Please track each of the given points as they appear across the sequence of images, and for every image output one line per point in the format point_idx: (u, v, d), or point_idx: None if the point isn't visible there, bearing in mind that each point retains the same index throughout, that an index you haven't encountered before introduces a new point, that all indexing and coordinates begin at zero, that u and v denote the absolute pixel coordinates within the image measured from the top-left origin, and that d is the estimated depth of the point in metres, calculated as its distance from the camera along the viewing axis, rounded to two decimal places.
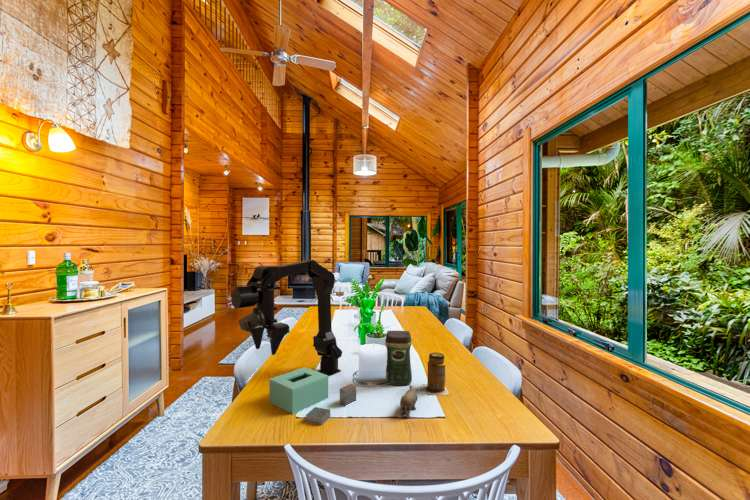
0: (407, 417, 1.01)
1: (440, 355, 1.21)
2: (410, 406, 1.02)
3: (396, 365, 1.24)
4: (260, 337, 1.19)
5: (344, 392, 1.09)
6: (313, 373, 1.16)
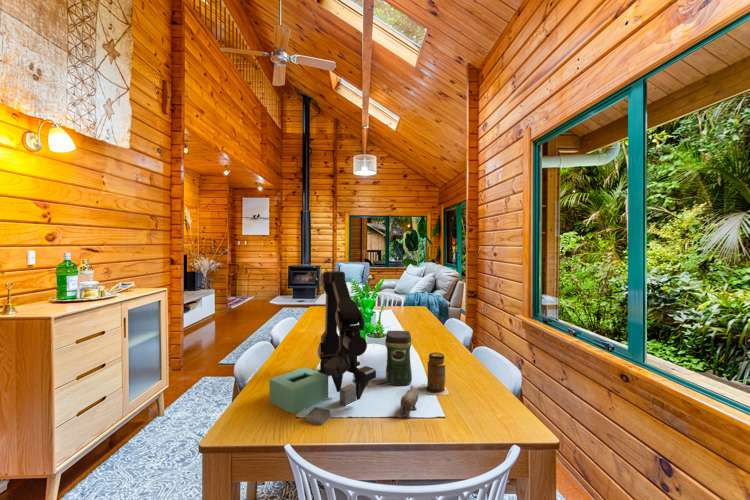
0: (407, 417, 1.01)
1: (440, 355, 1.21)
2: (410, 406, 1.02)
3: (396, 365, 1.24)
4: (340, 379, 1.15)
5: (344, 392, 1.09)
6: (313, 373, 1.16)
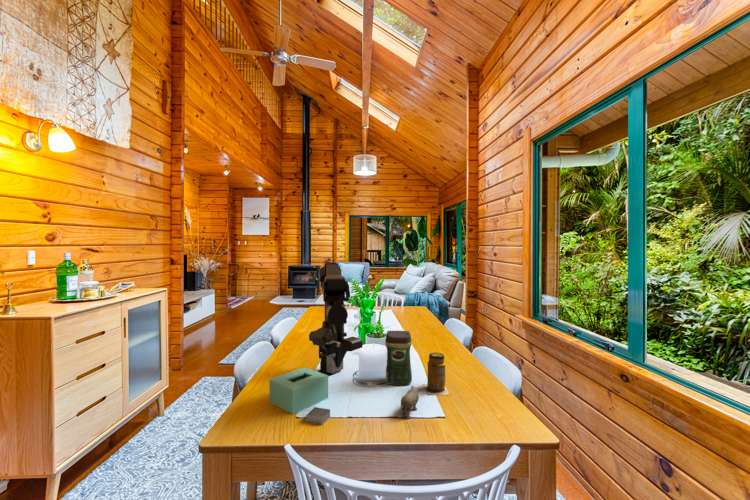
0: (407, 417, 1.01)
1: (440, 355, 1.21)
2: (410, 406, 1.02)
3: (396, 365, 1.24)
4: None
5: (331, 359, 1.09)
6: (313, 373, 1.16)
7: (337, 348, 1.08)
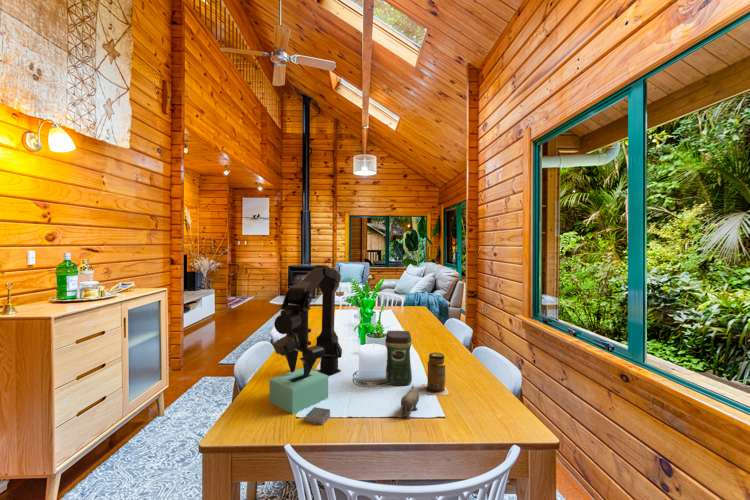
0: (407, 417, 1.01)
1: (440, 355, 1.21)
2: (410, 406, 1.02)
3: (396, 365, 1.24)
4: (295, 360, 1.16)
5: None
6: (313, 373, 1.16)
7: None
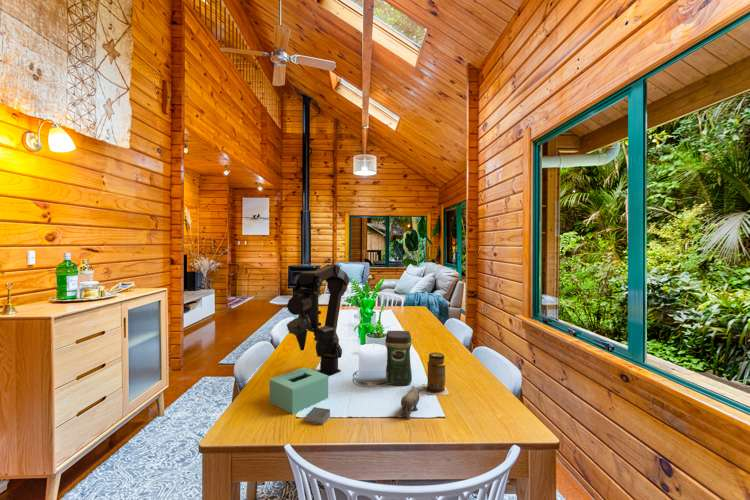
0: (407, 417, 1.01)
1: (440, 355, 1.21)
2: (410, 406, 1.02)
3: (396, 365, 1.24)
4: (304, 339, 1.26)
5: None
6: (313, 373, 1.16)
7: None
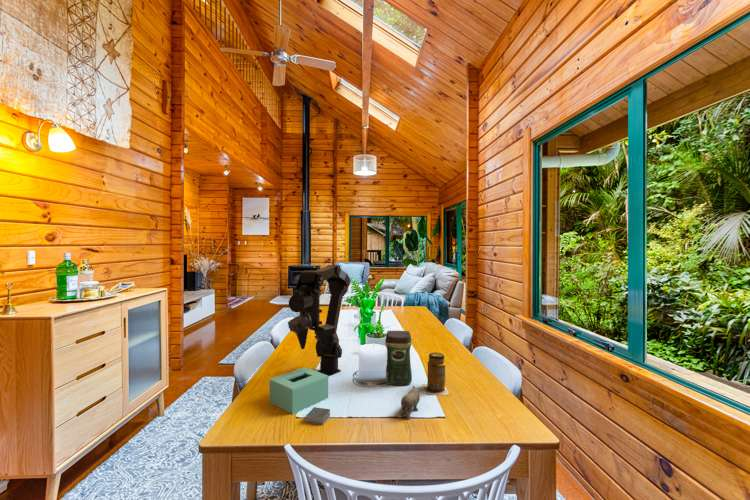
0: (407, 418, 1.01)
1: (440, 355, 1.21)
2: (410, 407, 1.01)
3: (396, 365, 1.24)
4: (305, 338, 1.27)
5: None
6: (313, 373, 1.16)
7: (318, 336, 1.17)
